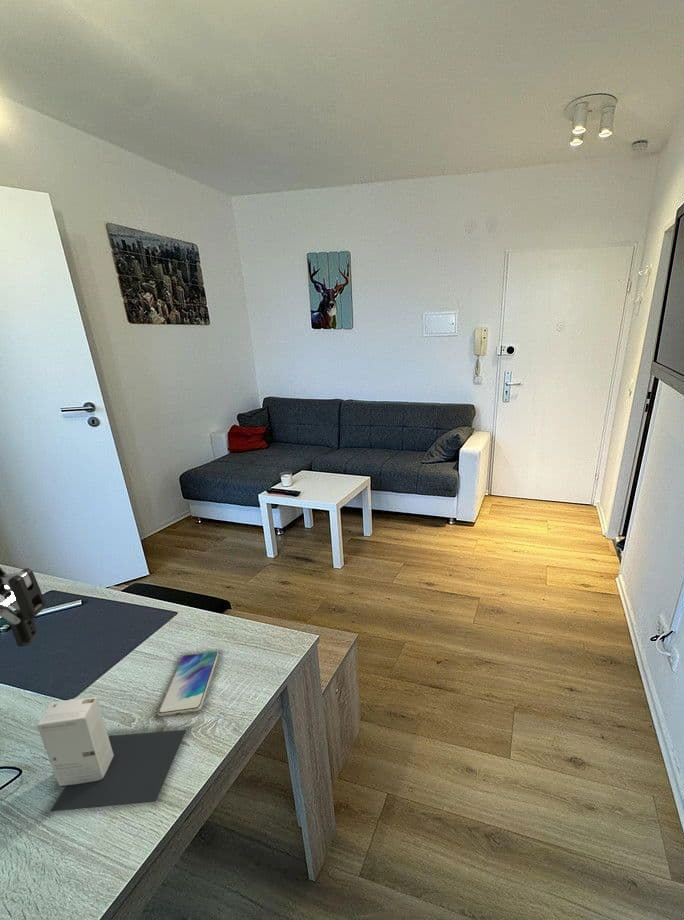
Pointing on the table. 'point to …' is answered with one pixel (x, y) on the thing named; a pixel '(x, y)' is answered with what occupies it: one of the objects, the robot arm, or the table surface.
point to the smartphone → (189, 684)
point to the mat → (127, 772)
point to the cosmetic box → (76, 740)
